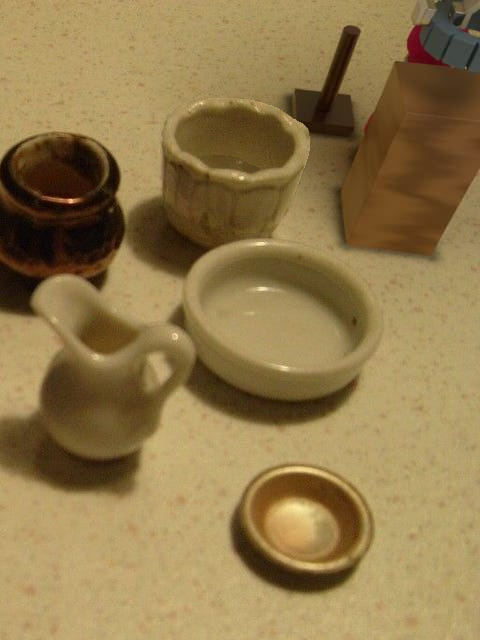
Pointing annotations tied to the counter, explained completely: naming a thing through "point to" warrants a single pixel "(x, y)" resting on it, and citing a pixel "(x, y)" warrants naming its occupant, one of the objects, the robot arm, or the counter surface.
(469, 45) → the ring
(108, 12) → the counter surface
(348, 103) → the stand
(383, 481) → the counter surface
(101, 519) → the counter surface
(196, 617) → the counter surface
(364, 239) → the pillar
